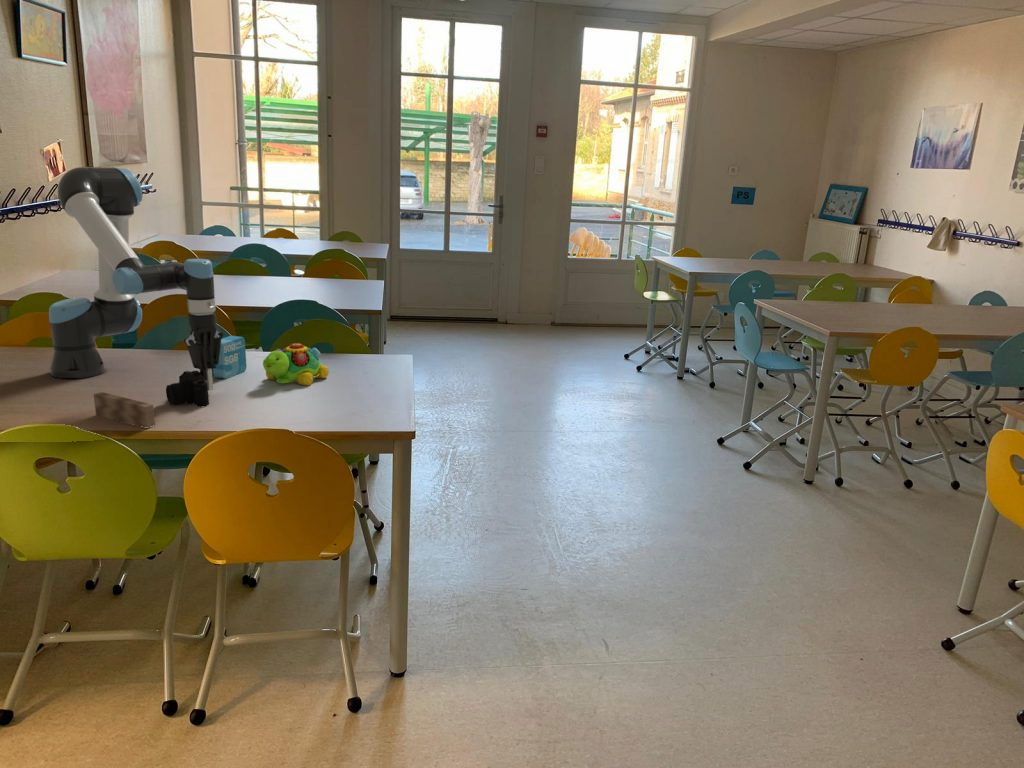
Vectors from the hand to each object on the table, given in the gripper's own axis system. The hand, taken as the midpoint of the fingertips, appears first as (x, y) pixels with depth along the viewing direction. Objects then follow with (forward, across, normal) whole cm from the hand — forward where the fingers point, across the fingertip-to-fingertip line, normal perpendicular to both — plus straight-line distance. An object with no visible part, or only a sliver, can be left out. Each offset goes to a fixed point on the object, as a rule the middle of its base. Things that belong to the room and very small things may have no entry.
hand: (208, 389), depth 225 cm
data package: (+2, +18, +10) cm, 21 cm away
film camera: (+2, -9, -1) cm, 9 cm away
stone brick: (+1, -29, 0) cm, 29 cm away
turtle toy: (+2, +24, -11) cm, 27 cm away
